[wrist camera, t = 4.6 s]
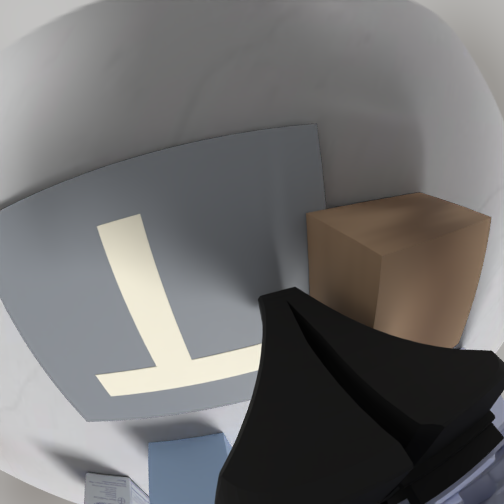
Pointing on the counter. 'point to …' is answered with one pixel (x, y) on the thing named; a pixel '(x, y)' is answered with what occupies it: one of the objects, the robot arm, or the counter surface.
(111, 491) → the medicine box
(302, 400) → the robot arm
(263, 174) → the board
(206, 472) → the blue cube
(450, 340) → the walnut block
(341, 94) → the counter surface
